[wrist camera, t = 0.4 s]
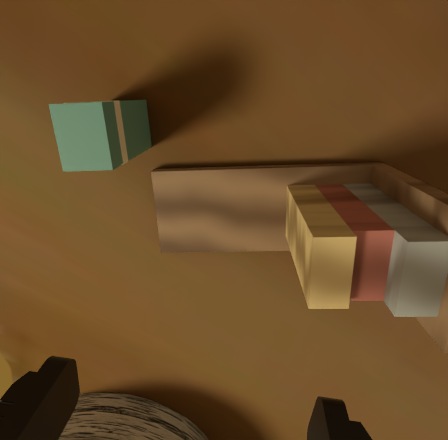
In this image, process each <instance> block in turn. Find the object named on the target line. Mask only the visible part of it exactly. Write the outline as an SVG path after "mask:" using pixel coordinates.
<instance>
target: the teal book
mask: <svg viewBox="0 0 448 440" xmlns="http://www.w3.org/2000/svg"><path fill="white" fill-rule="evenodd" d="M49 109H50V113H51V118H52V122H53V127H54V132H55V136H56V141H57V145H58V150H59V154H60V159H61V163H62V168H63V171H94V170H114V169H115V168H117V167H119V166H120V165H122V164H125V163H127V162H128V161H129V160H131V159H132V158H134V157H136V156H137V155H139V154H141V153H142V152H144V151H146V150H148V149H149V148H151V147H152V144H151V135H150V127H149V118H148V110H147V102H146V100H127V101H119V100H118V101H96V102H73V103H64V104H49Z"/></svg>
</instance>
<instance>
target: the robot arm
mask: <svg viewBox="0 0 448 440" xmlns="http://www.w3.org/2000/svg"><path fill="white" fill-rule="evenodd" d="M79 393H80V388H79V381H78V373H77V366H76V361H75V360H74V359H69V358H63V357H56V356H51V357H49V358H48V359H47V360H46V361H45V362H44V364H43V365H42V366H41V368H40V369H39V371H38V372H32V371H29V372H28V373H26V374H25V375H24V376H22V377H21V378H20V379H18V380H17V381H16V382H14V383H13V384H12V385H11V387H10V388H9V389H8V390H7V391H6V393H5V394H4V395H3V397H2V398H1V399H0V440H58V439H59V438H60V436H61V434H62V432H63V430H64V428H65V427H66V425H67V423H68V421H69V419H70V417H71V416H72V414H73V412H74V410H75V408H76V405H77V402H78V399H79ZM307 440H372V439H371V437H370V436H369V434H368V433H367V431H366V430H365V428H364V427H363V425H362V424H361V422H356V421H349V417H348V413H347V410H346V406H345V403H344V402H343V400H339V399H333V398H326V397H318V398H317V400H316V403H315V406H314V409H313V413H312V416H311V419H310V422H309V426H308V432H307Z"/></svg>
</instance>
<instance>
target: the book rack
mask: <svg viewBox="0 0 448 440" xmlns="http://www.w3.org/2000/svg"><path fill="white" fill-rule="evenodd" d="M151 175H152V183H153V191H154V199H155V208H156V216H157V224H158V232H159V240H160V248H161V253H167V252H232V251H291V254H292V257H293V260H294V264H295V267H296V270H297V273H298V276H299V279H300V283H301V286H302V289H303V292H304V295H305V298H306V301H307V305H308V308H309V309H349V301H384V302H385V303H386V305H387V306H388V308H389V309H390V311H391V312H392V313H393V315H394V316H395V317H416V319H417V320H418V321H419V322H420V324H421V325H422V326H423V328H424V329H425V330H426V331H427V333H428V334H429V335H430V337H431V338H432V339H433V340H434V342H435V343H436V344H437V345H438V347H439V348H440V349H441V351H442V352H443V353H444V354H448V194H447V193H445V192H443V191H441V190H439V189H437V188H435V187H433V186H431V185H429V184H427V183H425V182H422V181H420V180H418V179H416V178H414V177H412V176H410V175H408V174H406V173H404V172H402V171H399V170H397V169H395V168H393V167H391V166H389V165H387V164H385V163H383V162H362V163H330V164H298V165H265V166H233V167H201V168H168V169H154V170H153V171H151Z"/></svg>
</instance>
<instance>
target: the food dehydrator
mask: <svg viewBox="0 0 448 440" xmlns="http://www.w3.org/2000/svg"><path fill="white" fill-rule="evenodd" d="M58 440H208V438H207V437H206V436H205V434H204V433H203V432H202V431H201V430H200V429H199V428H198V427H197V426H196V425H195V424H194V423H192V422H191V421H190V420H189V419H187V418H186V417H184V416H183V415H181V414H180V413H178V412H176V411H175V410H173V409H171V408H169V407H167V406H165V405H162V404H160V403H158V402H155V401H152V400H149V399H146V398H142V397H138V396H134V395H129V394H122V393H112V392H94V393H85V394H79V399H78V402H77V405H76V408H75V410H74V412H73V414H72V416H71V417H70V419H69V421H68V423H67V425H66V427H65V428H64V430H63V432H62V434H61V436H60V438H59V439H58Z"/></svg>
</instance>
